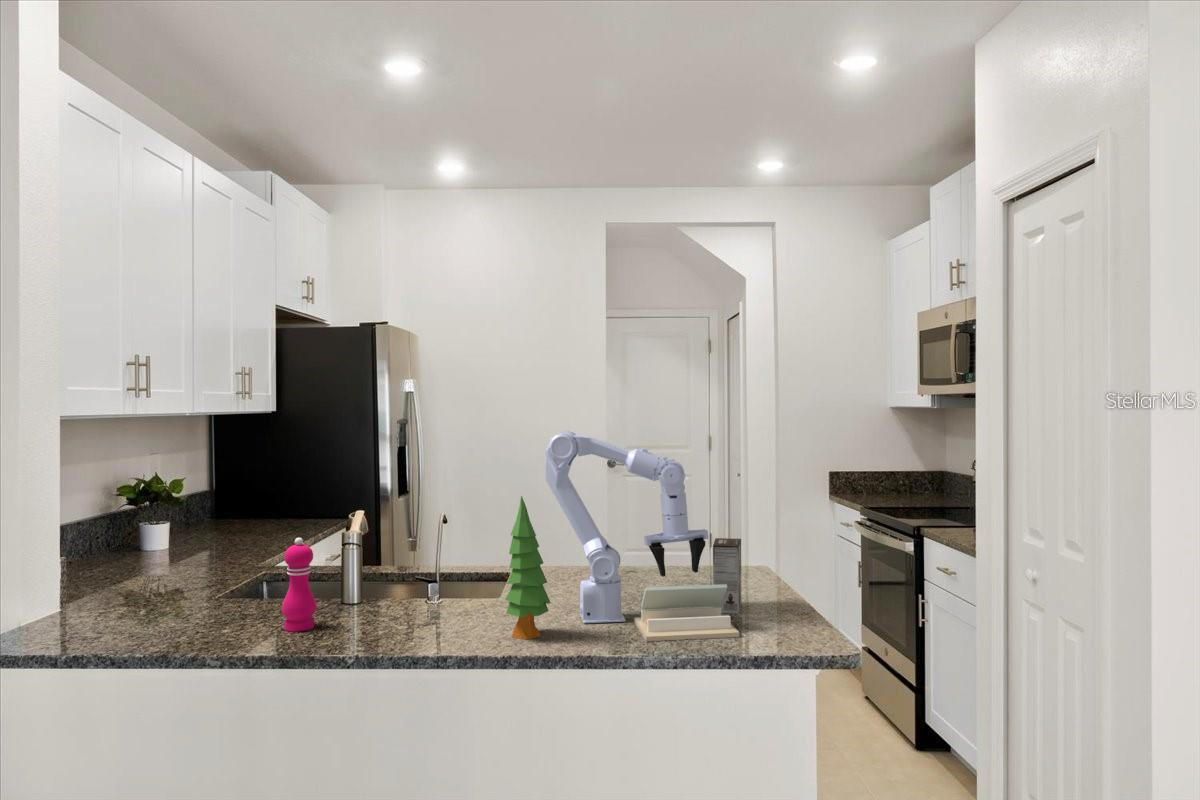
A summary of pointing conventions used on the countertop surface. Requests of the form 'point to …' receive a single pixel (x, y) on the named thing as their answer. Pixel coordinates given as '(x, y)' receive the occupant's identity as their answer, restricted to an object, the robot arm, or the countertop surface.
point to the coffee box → (728, 572)
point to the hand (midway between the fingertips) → (679, 573)
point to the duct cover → (683, 596)
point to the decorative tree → (526, 578)
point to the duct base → (685, 624)
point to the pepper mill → (299, 589)
